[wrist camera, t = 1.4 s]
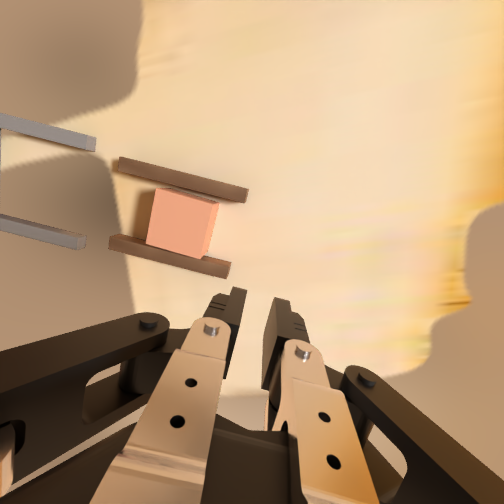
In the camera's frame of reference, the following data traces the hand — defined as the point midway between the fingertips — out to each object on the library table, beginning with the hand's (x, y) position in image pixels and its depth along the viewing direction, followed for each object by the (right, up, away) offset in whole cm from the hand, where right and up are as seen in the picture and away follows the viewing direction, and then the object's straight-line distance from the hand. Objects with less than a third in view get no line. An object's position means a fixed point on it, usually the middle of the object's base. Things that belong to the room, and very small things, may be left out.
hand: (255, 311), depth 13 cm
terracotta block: (-8, +7, +19) cm, 21 cm away
